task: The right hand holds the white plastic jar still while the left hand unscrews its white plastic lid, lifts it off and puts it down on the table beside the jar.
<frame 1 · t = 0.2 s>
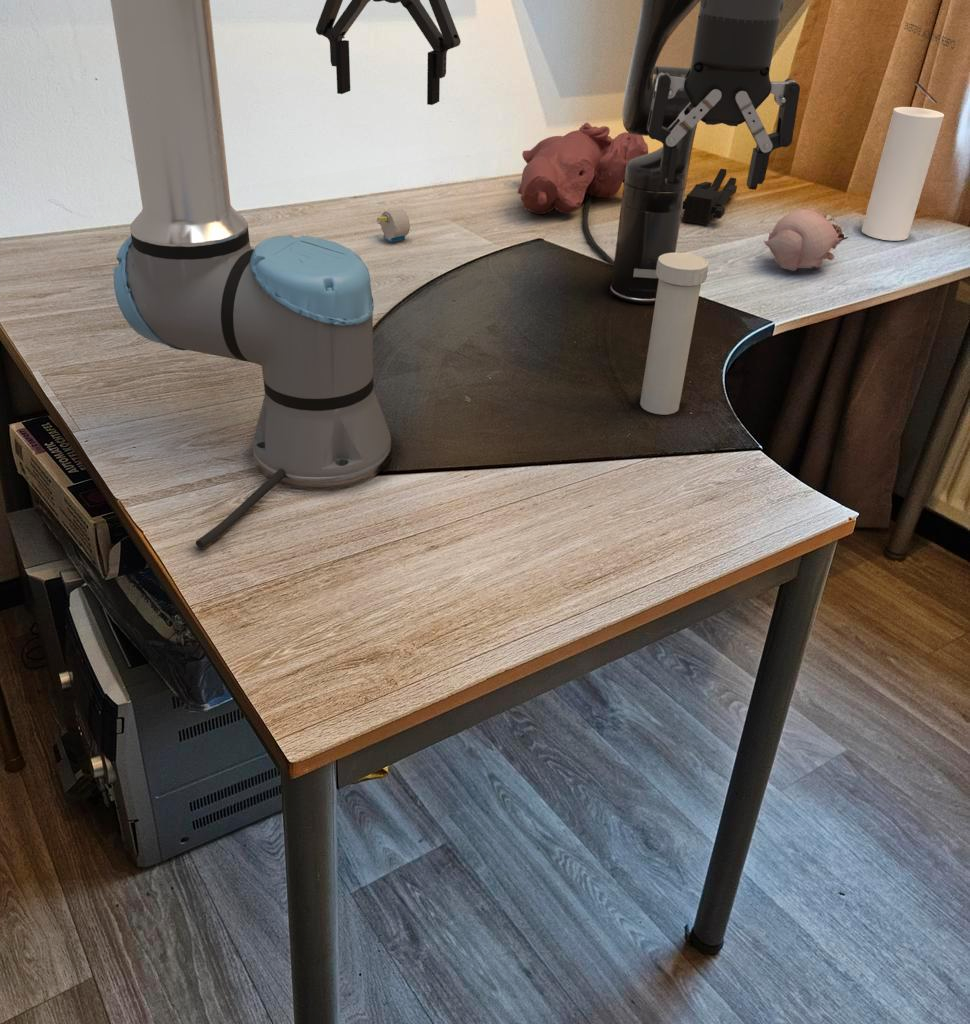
left hand: (388, 97, 135), 28 cm above the table, tool pointing down, fingers open, 13 cm apart
right hand: (709, 185, 100), 29 cm above the table, tool pointing down, fingers open, 8 cm apart
toy 2: (796, 266, 167), on the table
lid: (682, 263, 111), point 18 cm above the table, screwed on, not yet turned
ceramic shard: (205, 292, 146), on the table
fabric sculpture: (573, 204, 192), on the table
toy: (710, 205, 196), on the table
electric motor: (391, 241, 169), on the table
jar: (659, 405, 122), on the table
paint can: (880, 233, 185), on the table
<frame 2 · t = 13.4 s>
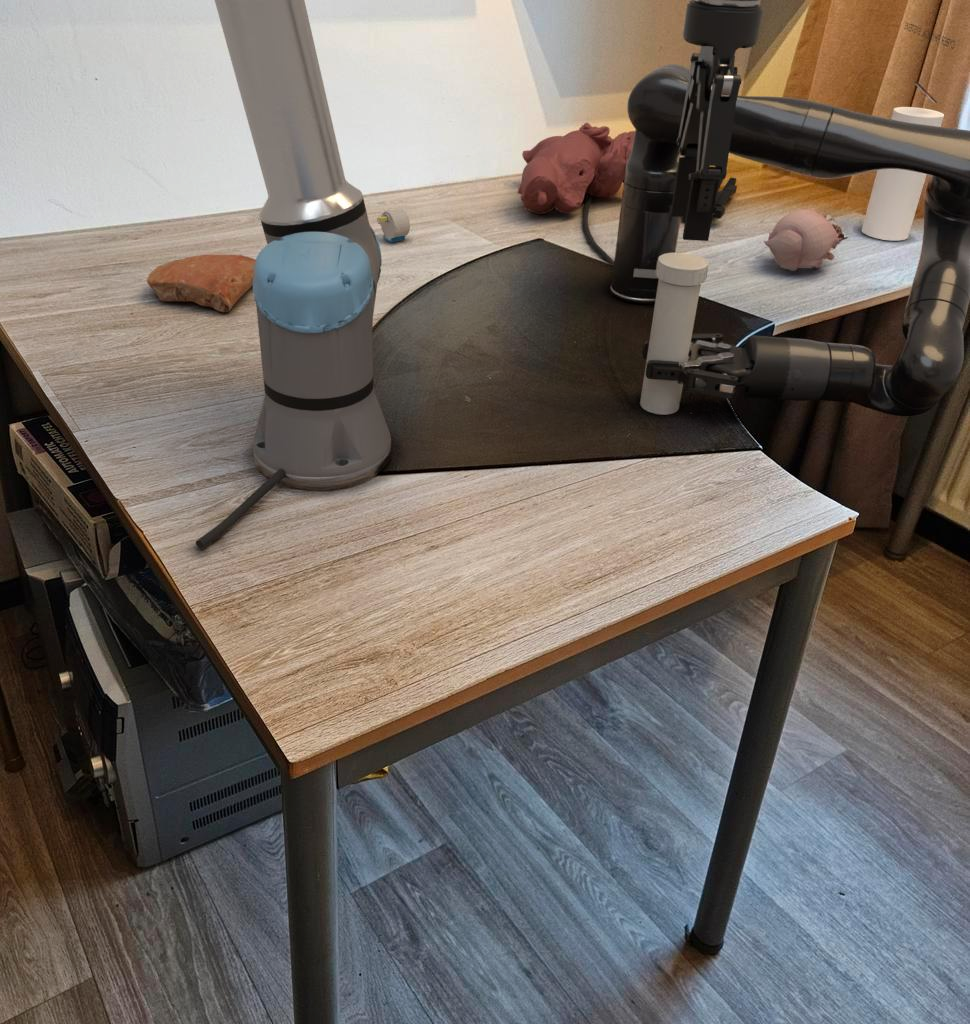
left hand: (688, 227, 109), 23 cm above the table, tool pointing down, fingers open, 8 cm apart
right hand: (645, 359, 118), 6 cm above the table, tool horizontal, fingers closed on jar, 5 cm apart
jar: (659, 405, 122), on the table, touching right hand
everything else where it was.
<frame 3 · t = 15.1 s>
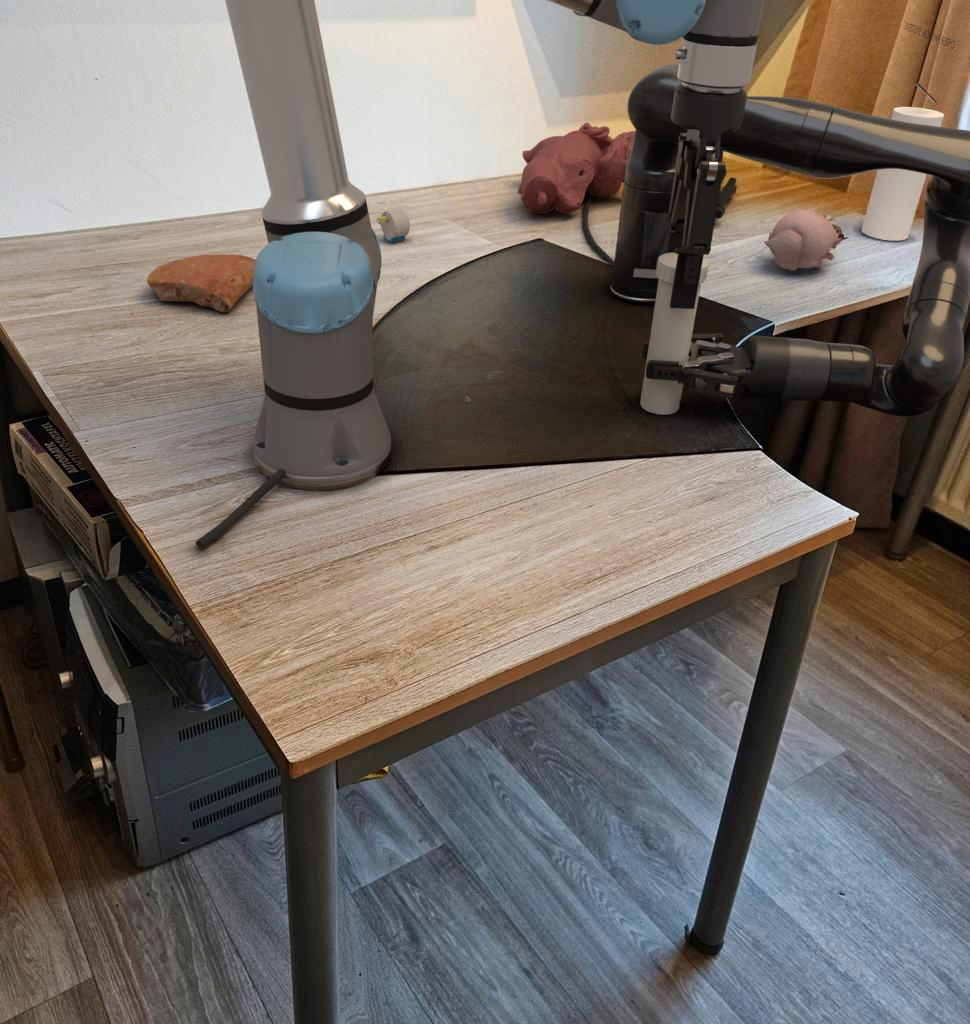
left hand: (677, 296, 113), 15 cm above the table, tool pointing down, fingers closed on lid, 6 cm apart
right hand: (645, 359, 118), 6 cm above the table, tool horizontal, fingers closed on jar, 5 cm apart
lid: (682, 263, 111), point 18 cm above the table, screwed on, not yet turned, touching left hand
jar: (659, 405, 122), on the table, touching right hand
everything else where it was.
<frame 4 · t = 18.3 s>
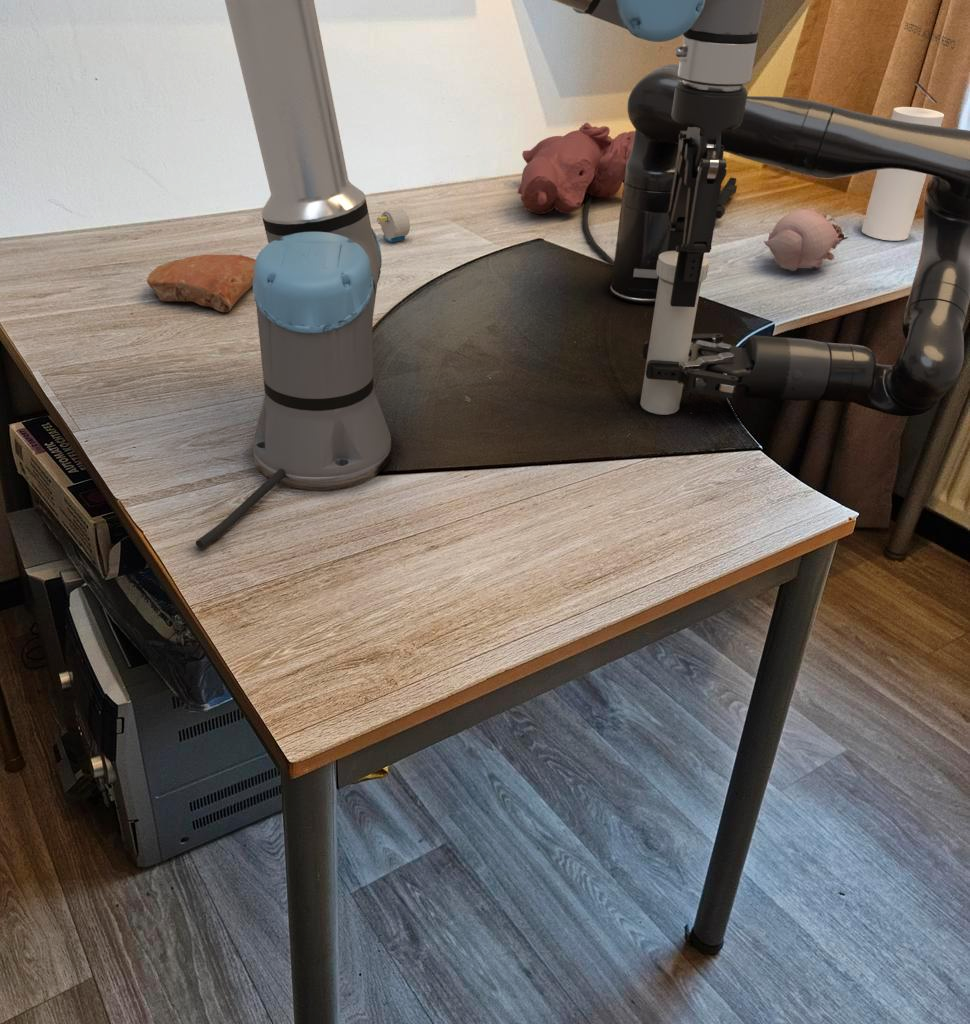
left hand: (677, 294, 113), 15 cm above the table, tool pointing down, fingers closed on lid, 6 cm apart
right hand: (645, 359, 118), 6 cm above the table, tool horizontal, fingers closed on jar, 5 cm apart
lid: (683, 261, 111), point 19 cm above the table, turned 82° so far, risen 0.2 cm, still on its thread, touching left hand
jar: (659, 405, 122), on the table, touching right hand
everything else where it was.
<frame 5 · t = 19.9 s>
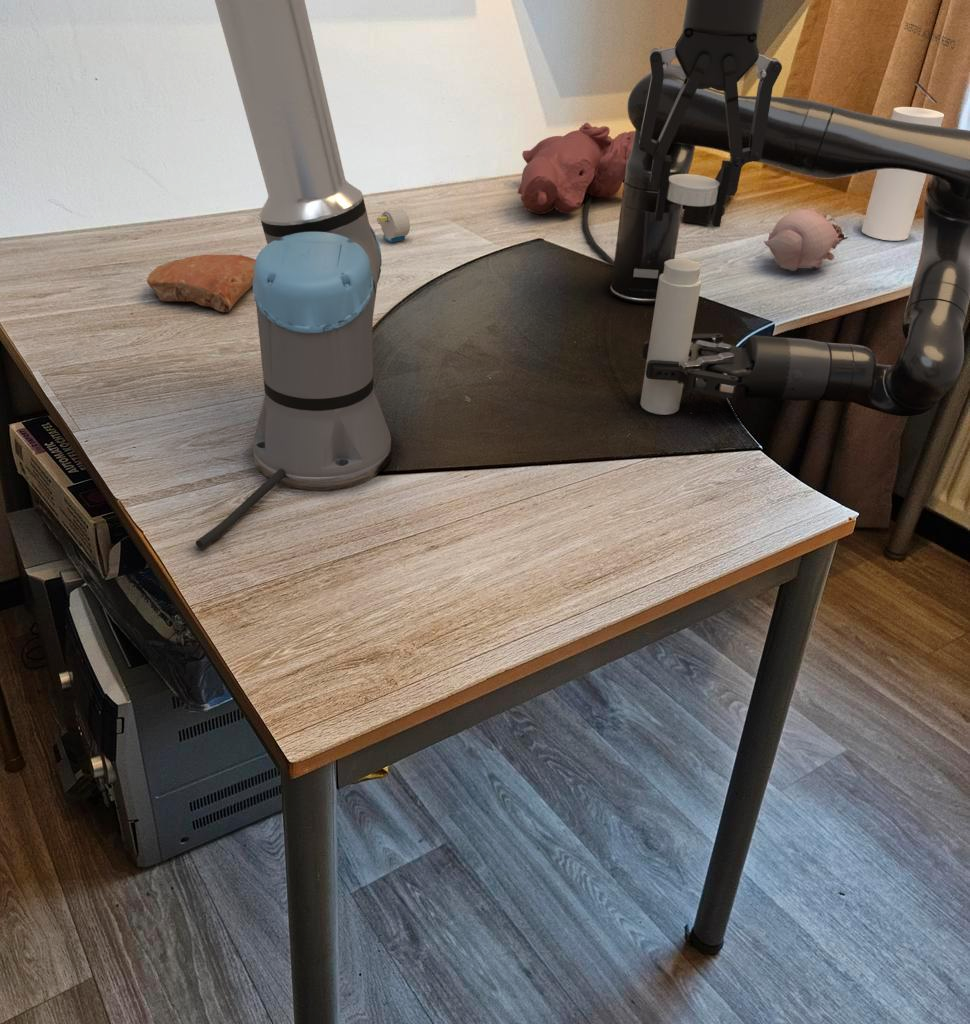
left hand: (686, 219, 108), 24 cm above the table, tool pointing down, fingers closed on lid, 6 cm apart
right hand: (645, 359, 118), 6 cm above the table, tool horizontal, fingers closed on jar, 5 cm apart
lid: (693, 184, 106), point 28 cm above the table, off its thread, touching left hand
jar: (659, 405, 122), on the table, touching right hand
everything else where it was.
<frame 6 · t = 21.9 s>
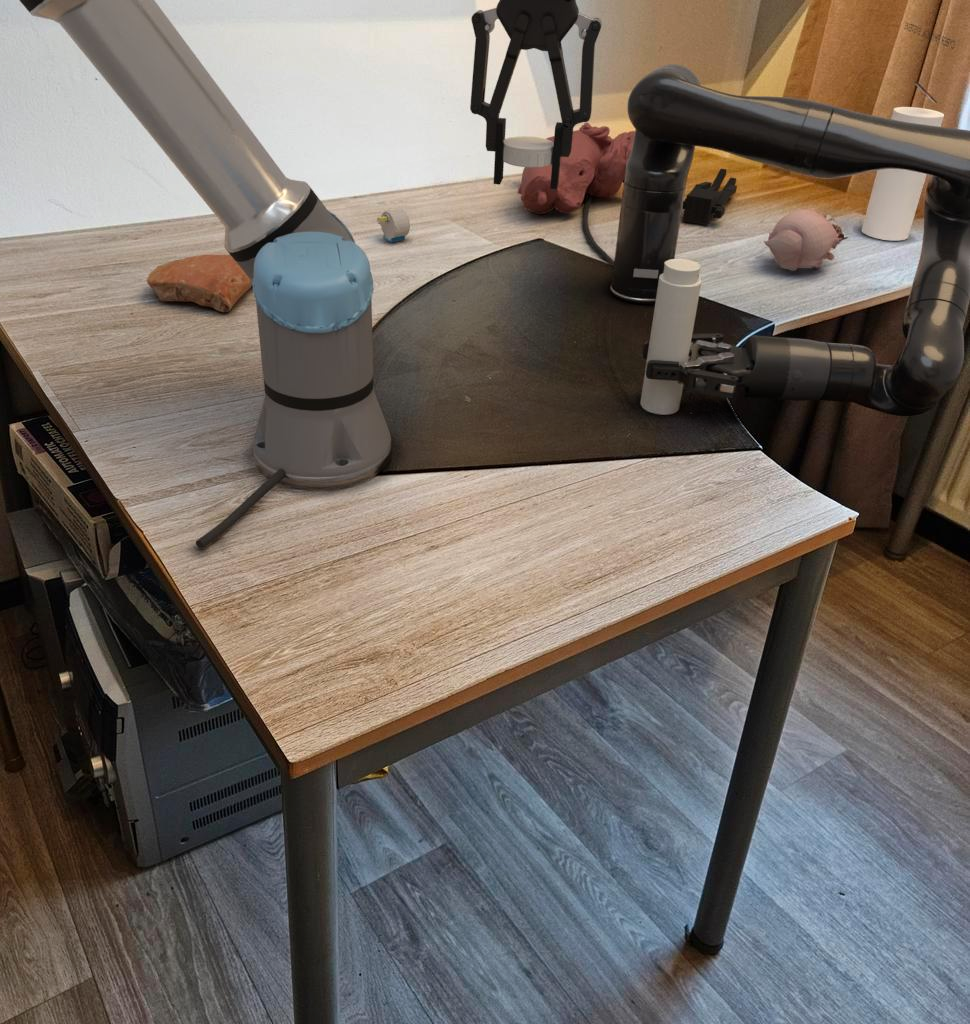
left hand: (526, 182, 109), 26 cm above the table, tool pointing down, fingers closed on lid, 6 cm apart
right hand: (645, 359, 118), 6 cm above the table, tool horizontal, fingers closed on jar, 5 cm apart
lid: (528, 145, 107), point 30 cm above the table, off its thread, touching left hand
jar: (659, 405, 122), on the table, touching right hand
everything else where it was.
when the left hand's fingers open (0 cm above the table, at t = 25.7 s): lid stays where it is, point 2 cm above the table.
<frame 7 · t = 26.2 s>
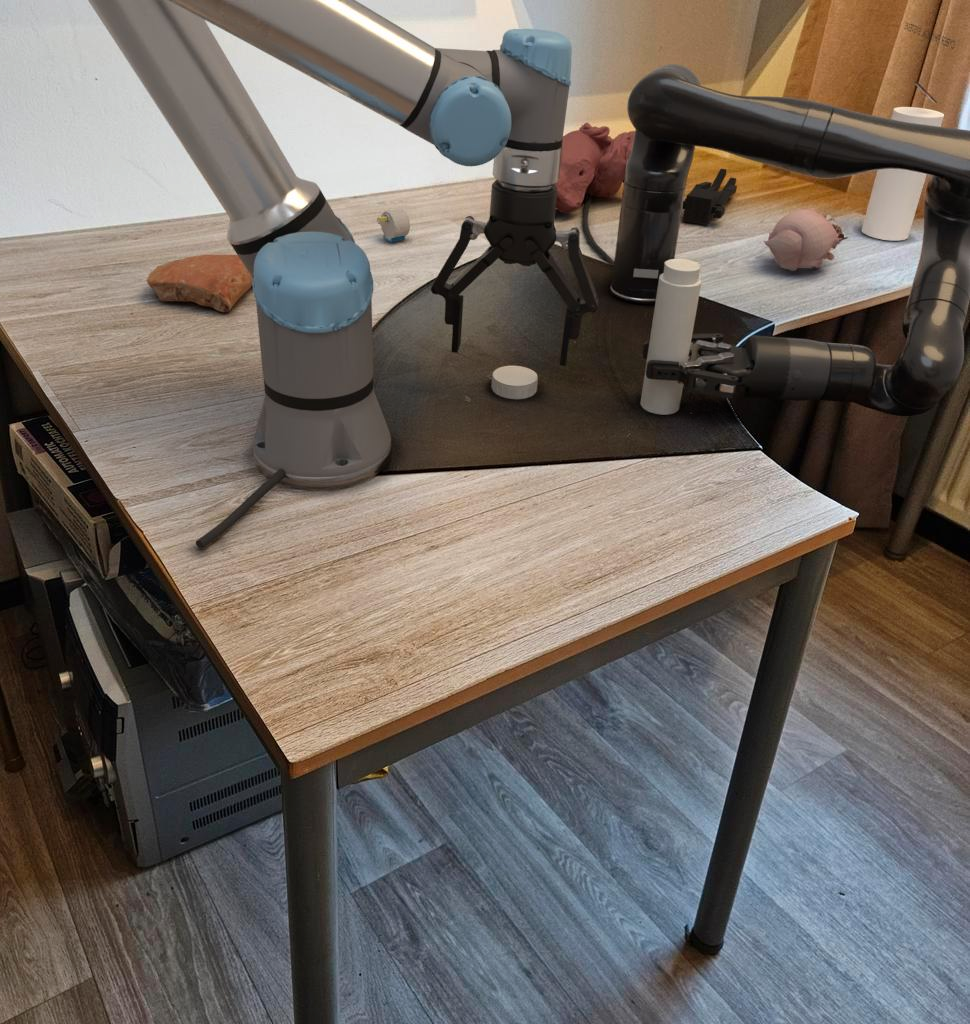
left hand: (509, 355, 121), 5 cm above the table, tool pointing down, fingers open, 13 cm apart
right hand: (645, 359, 118), 6 cm above the table, tool horizontal, fingers closed on jar, 5 cm apart
lid: (514, 377, 123), point 2 cm above the table, off its thread
jar: (659, 405, 122), on the table, touching right hand
everything else where it was.
when the right hand's fingers open (6 cm above the table, at t = 26.4 s): jar stays where it is, on the table.
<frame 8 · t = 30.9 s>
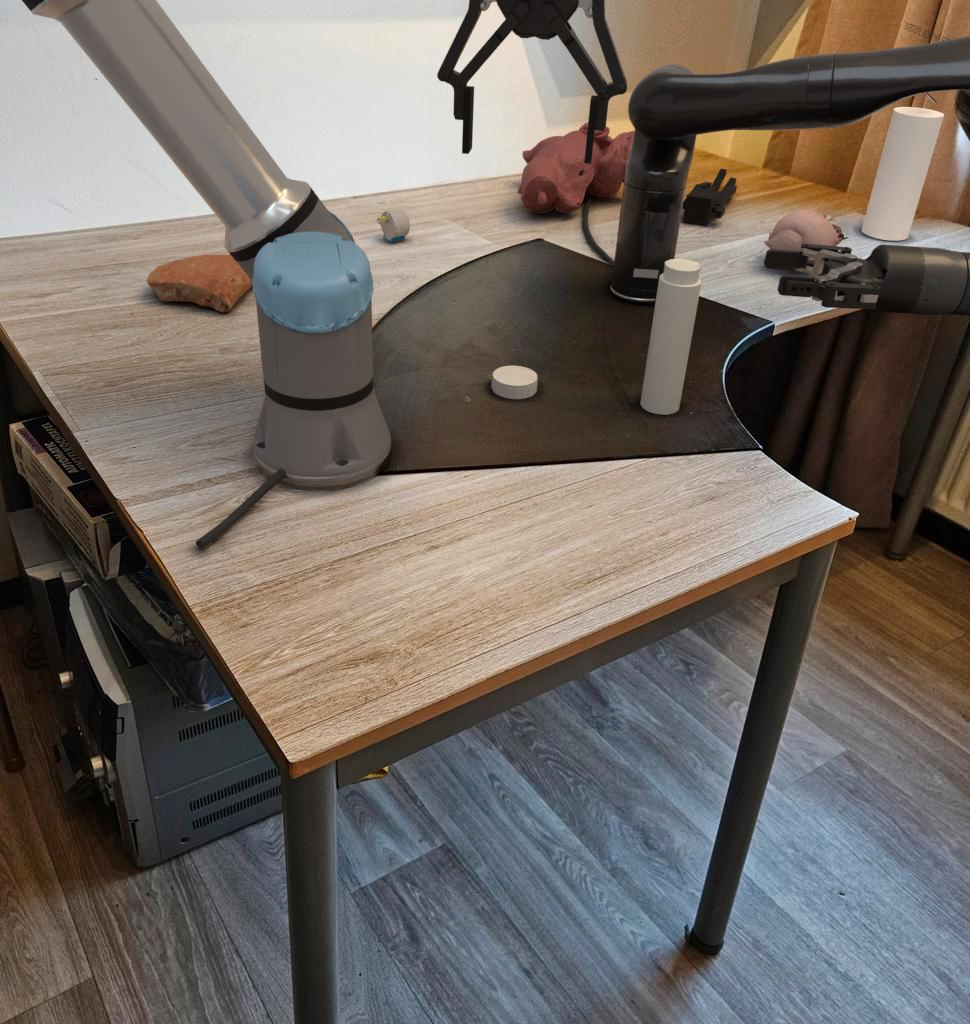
left hand: (527, 156, 107), 29 cm above the table, tool pointing down, fingers open, 13 cm apart
right hand: (772, 271, 111), 18 cm above the table, tool horizontal, fingers open, 8 cm apart
jar: (659, 405, 122), on the table
everything else where it was.
at the end: lid came off its thread; lid point 1.6 cm above the table; the left hand is holding nothing; the right hand is holding nothing; jar tilted 0°; jar moved 0.0 cm from its start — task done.
